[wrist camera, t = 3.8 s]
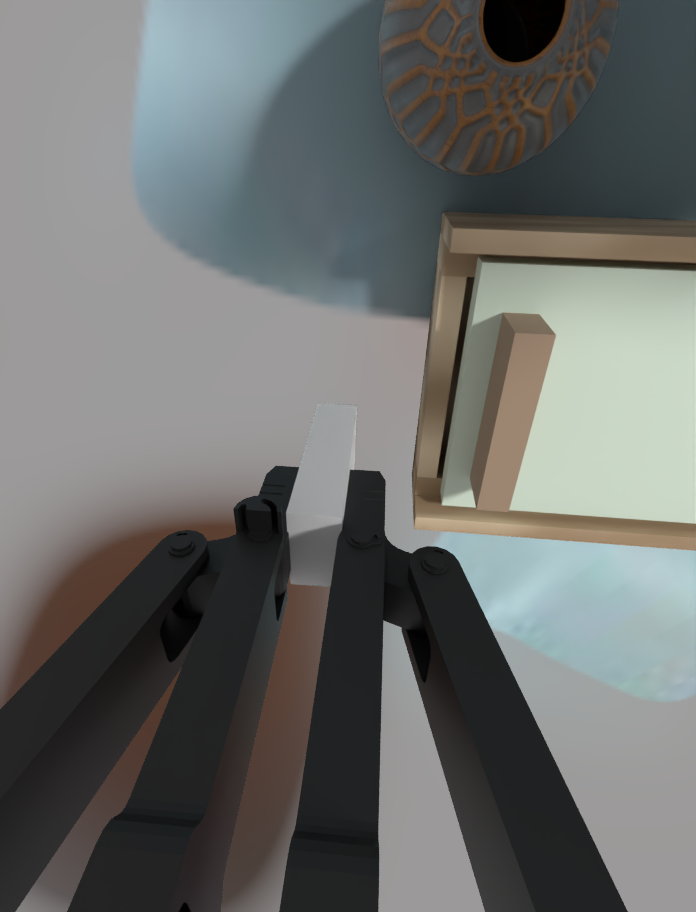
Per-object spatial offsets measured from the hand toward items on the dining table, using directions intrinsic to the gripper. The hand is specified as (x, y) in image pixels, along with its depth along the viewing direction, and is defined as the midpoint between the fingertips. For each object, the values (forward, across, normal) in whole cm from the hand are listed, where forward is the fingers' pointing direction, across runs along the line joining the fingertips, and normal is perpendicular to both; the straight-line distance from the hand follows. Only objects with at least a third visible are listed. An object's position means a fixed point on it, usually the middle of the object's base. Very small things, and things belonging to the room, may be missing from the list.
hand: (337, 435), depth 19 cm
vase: (+7, +4, +12) cm, 15 cm away
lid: (+4, +12, 0) cm, 13 cm away
